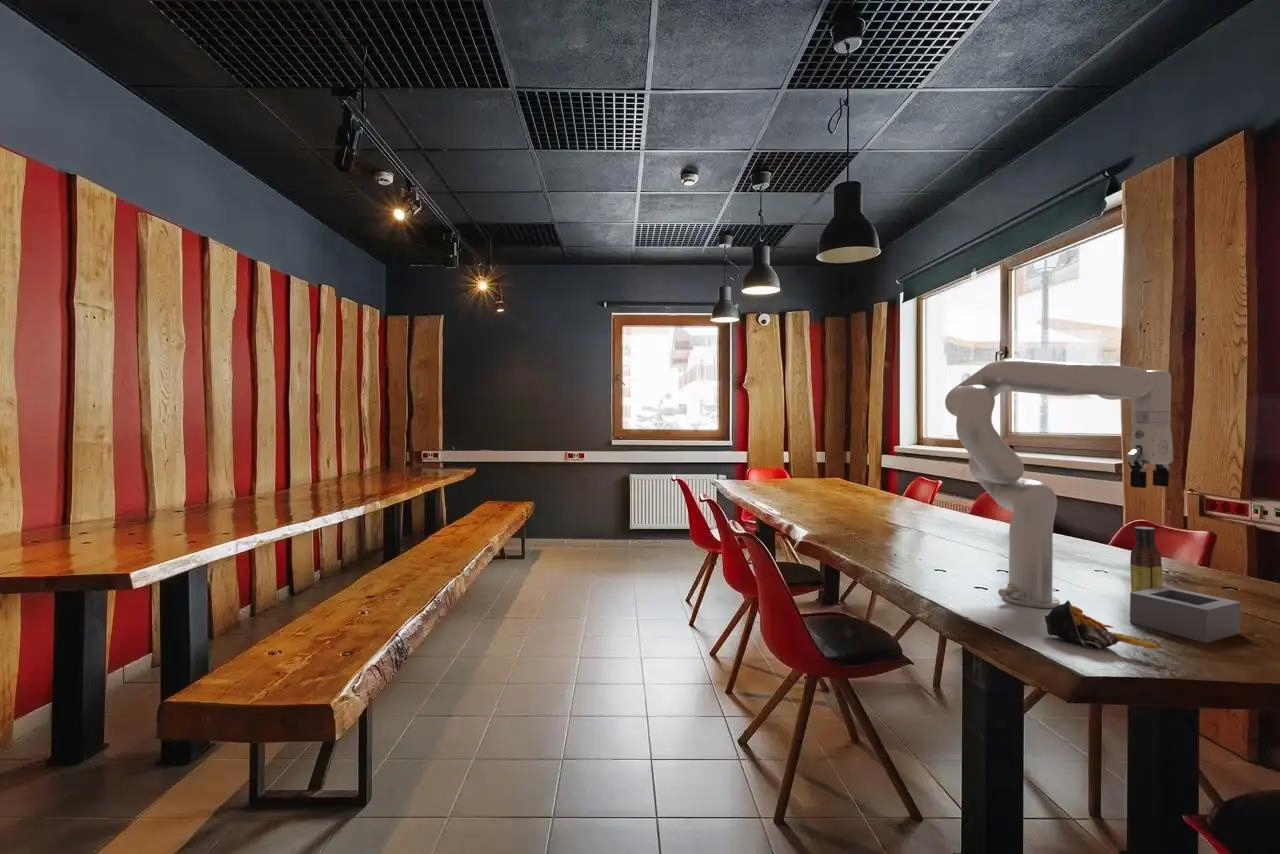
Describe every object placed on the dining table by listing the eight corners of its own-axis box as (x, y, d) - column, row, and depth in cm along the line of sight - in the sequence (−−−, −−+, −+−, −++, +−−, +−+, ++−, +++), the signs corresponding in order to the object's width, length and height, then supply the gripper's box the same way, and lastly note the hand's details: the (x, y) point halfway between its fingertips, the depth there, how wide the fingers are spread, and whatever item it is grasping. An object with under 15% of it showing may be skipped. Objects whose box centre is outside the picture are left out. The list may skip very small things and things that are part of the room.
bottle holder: (1206, 643, 126) (1206, 610, 126) (1130, 622, 139) (1130, 592, 139) (1240, 633, 132) (1240, 602, 132) (1163, 614, 145) (1164, 585, 144)
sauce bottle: (1157, 603, 154) (1158, 526, 153) (1167, 610, 148) (1168, 530, 148) (1126, 600, 156) (1126, 524, 156) (1134, 607, 151) (1135, 528, 150)
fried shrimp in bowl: (1042, 607, 135) (1140, 595, 125) (1059, 659, 130) (1163, 651, 120) (1034, 601, 129) (1137, 587, 119) (1052, 655, 124) (1161, 645, 114)
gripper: (1148, 419, 144) (1147, 489, 145) (1188, 419, 151) (1186, 487, 152) (1113, 419, 151) (1112, 486, 152) (1152, 419, 158) (1151, 484, 158)
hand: (1149, 486), depth 152 cm, fingers open, 9 cm apart
